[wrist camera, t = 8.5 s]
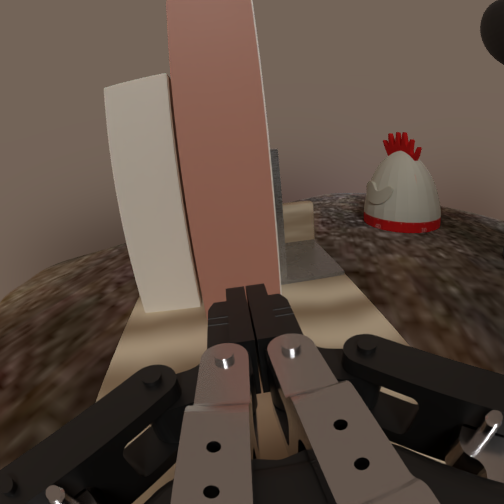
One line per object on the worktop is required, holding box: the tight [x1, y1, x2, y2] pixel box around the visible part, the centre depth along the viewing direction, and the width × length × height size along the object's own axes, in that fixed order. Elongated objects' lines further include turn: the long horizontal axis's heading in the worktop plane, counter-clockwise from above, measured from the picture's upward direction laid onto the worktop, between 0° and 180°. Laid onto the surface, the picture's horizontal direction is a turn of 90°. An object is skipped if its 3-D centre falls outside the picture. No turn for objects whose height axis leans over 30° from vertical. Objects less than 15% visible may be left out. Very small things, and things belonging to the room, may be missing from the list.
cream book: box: [104, 73, 202, 313], centre depth 27 cm, size 12×5×19 cm, turn 6°
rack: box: [96, 201, 446, 504], centre depth 22 cm, size 32×20×6 cm, turn 6°
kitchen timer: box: [364, 132, 441, 233], centre depth 43 cm, size 14×14×15 cm
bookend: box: [270, 149, 344, 285], centre depth 30 cm, size 10×6×12 cm, turn 6°
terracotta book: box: [166, 0, 282, 322], centre depth 23 cm, size 18×5×22 cm, turn 7°
